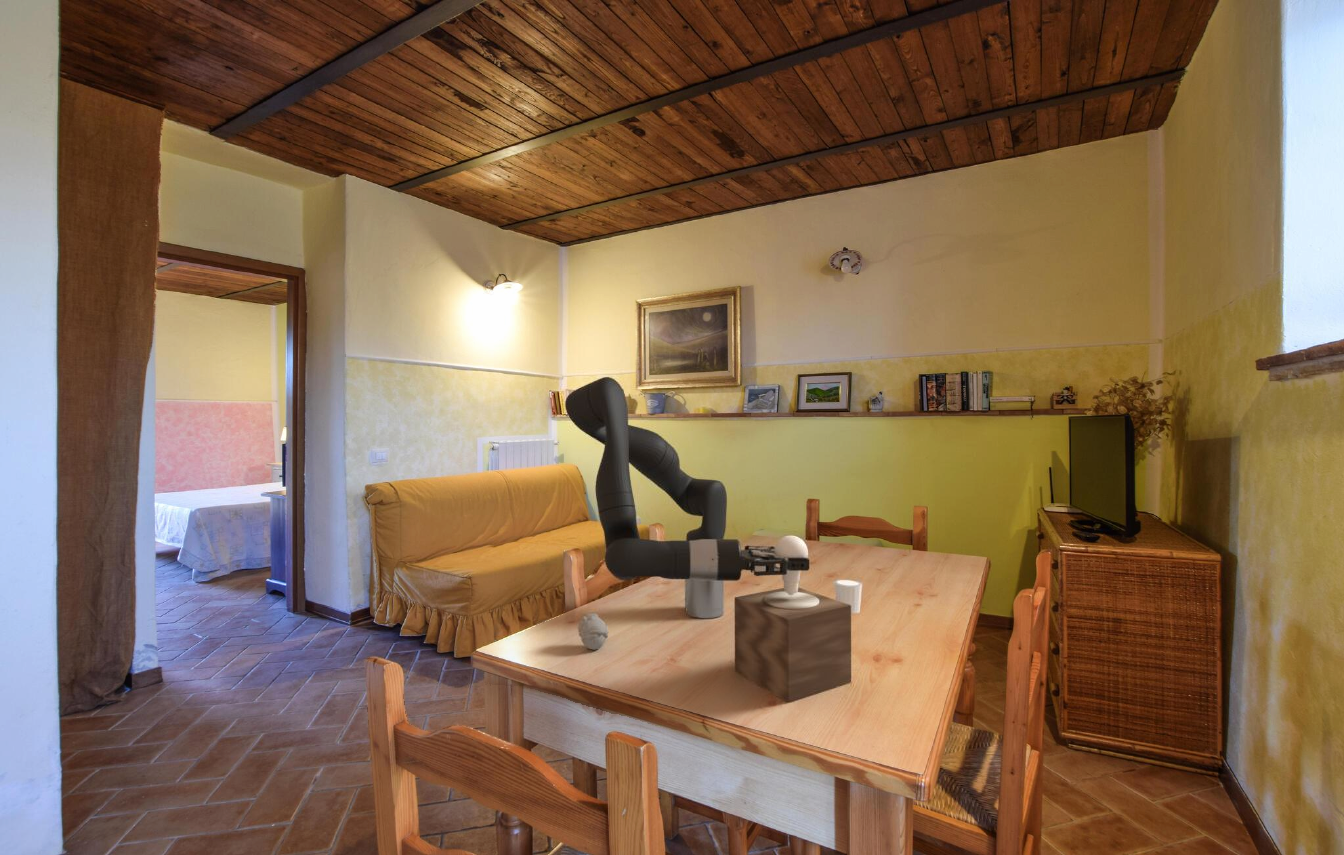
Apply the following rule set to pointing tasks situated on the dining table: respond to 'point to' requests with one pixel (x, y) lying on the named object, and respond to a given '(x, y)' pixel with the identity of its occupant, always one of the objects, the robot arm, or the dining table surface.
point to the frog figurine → (592, 631)
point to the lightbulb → (791, 549)
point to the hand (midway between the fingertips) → (804, 559)
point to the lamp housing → (793, 642)
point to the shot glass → (849, 593)
